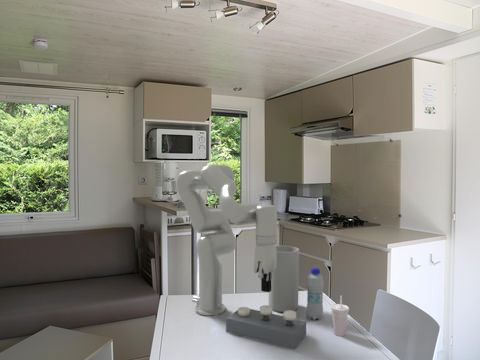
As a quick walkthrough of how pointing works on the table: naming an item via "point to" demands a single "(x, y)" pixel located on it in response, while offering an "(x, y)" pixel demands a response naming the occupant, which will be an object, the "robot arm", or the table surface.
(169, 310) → the table surface
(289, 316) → the knob
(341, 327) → the smoothie
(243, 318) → the control panel
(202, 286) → the robot arm
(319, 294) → the bottle
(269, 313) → the knob middle
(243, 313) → the knob
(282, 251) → the cylinder vase
